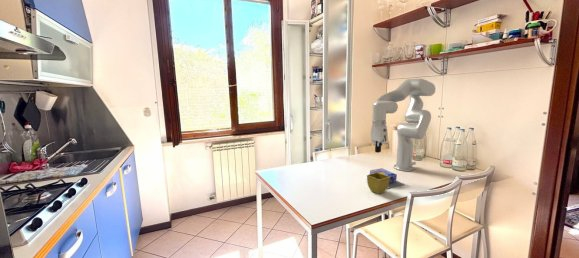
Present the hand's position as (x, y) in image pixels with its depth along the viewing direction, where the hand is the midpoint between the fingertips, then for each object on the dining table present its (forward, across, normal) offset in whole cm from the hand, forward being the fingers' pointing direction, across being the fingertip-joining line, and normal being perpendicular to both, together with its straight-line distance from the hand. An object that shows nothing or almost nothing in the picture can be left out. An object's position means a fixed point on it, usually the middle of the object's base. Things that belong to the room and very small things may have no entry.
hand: (377, 152), depth 154 cm
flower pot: (+16, -16, +15) cm, 27 cm away
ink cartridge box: (+13, 0, +1) cm, 13 cm away
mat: (+16, -8, +1) cm, 19 cm away
